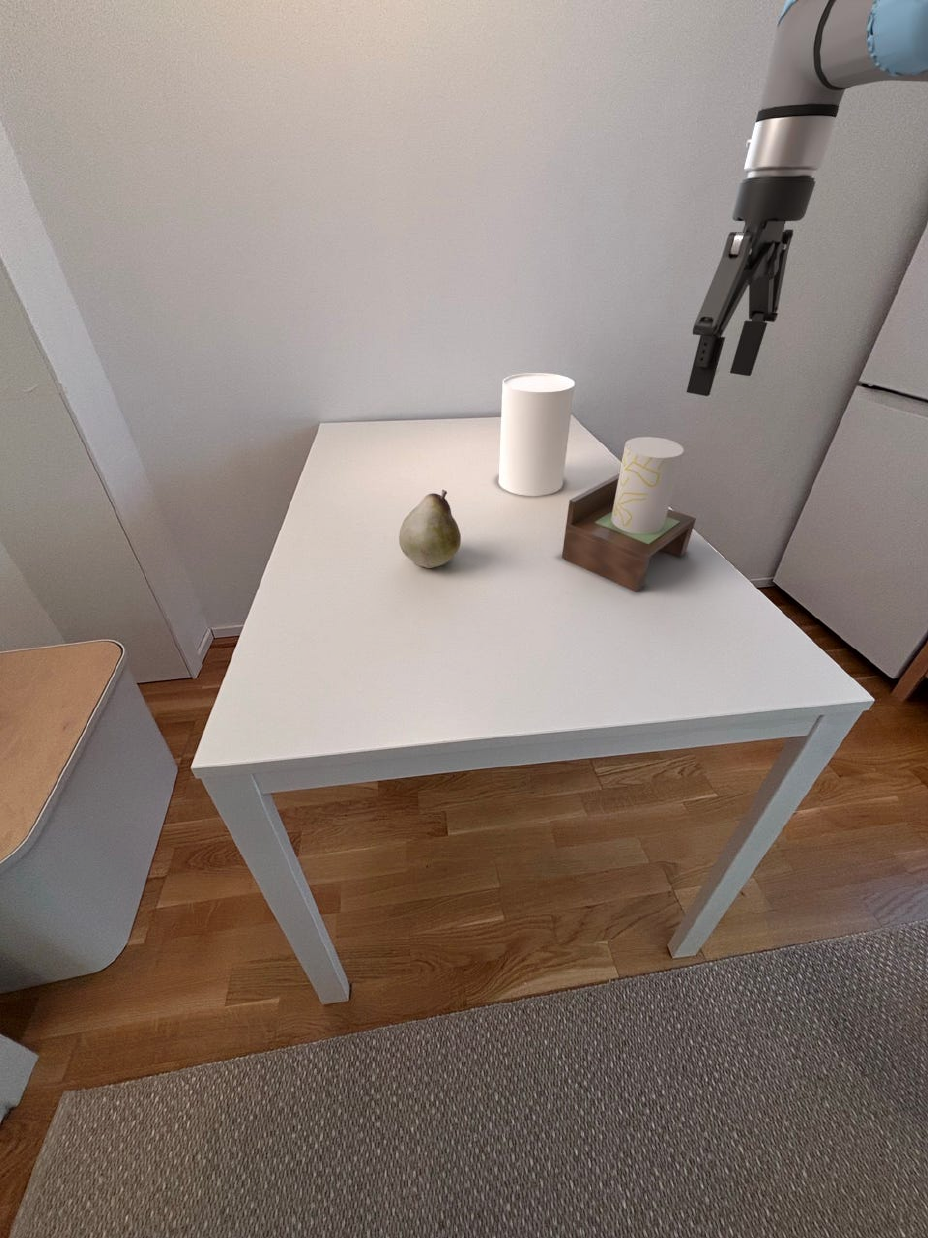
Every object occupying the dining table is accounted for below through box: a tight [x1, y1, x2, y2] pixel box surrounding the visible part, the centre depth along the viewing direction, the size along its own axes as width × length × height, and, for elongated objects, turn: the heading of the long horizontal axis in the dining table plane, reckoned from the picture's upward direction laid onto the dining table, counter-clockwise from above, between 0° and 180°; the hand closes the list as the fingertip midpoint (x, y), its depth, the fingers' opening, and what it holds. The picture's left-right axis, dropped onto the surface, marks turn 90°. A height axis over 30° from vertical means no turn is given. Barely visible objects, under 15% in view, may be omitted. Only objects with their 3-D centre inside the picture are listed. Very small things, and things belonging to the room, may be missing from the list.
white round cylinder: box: [611, 436, 685, 534], centre depth 78 cm, size 8×8×12 cm
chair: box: [561, 472, 697, 593], centre depth 84 cm, size 14×16×10 cm
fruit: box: [398, 489, 462, 569], centre depth 82 cm, size 10×9×12 cm
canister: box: [498, 372, 576, 497], centre depth 104 cm, size 14×14×20 cm
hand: (720, 383), depth 69 cm, fingers open, 13 cm apart
